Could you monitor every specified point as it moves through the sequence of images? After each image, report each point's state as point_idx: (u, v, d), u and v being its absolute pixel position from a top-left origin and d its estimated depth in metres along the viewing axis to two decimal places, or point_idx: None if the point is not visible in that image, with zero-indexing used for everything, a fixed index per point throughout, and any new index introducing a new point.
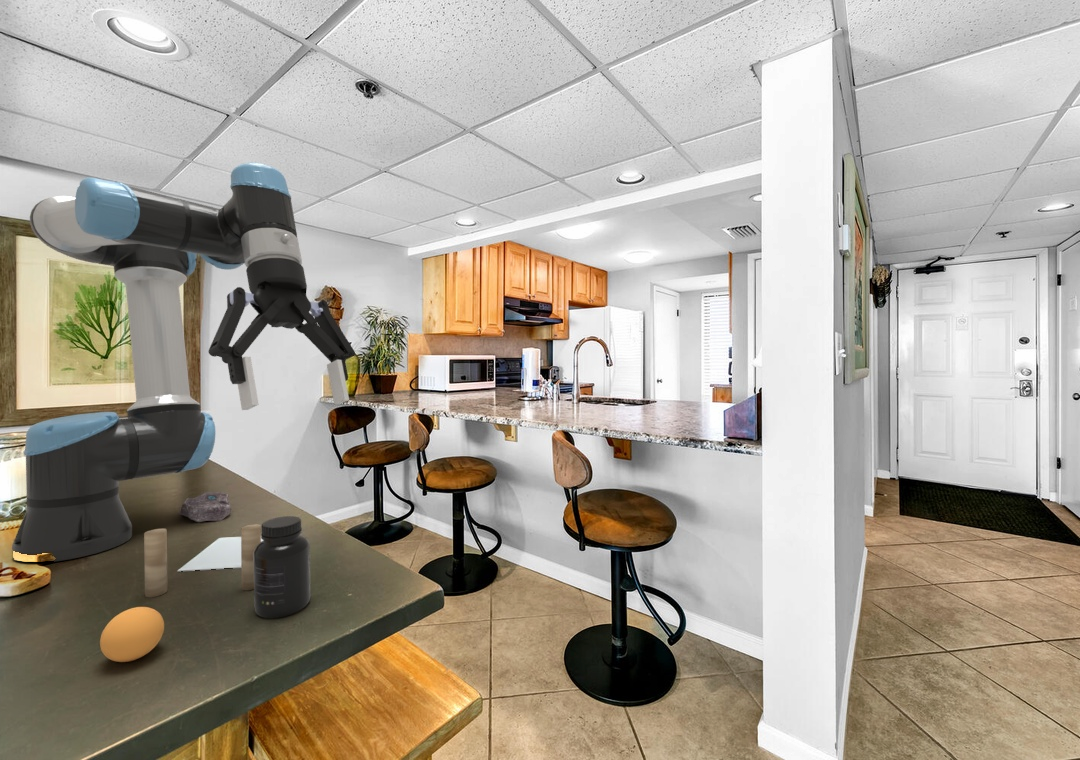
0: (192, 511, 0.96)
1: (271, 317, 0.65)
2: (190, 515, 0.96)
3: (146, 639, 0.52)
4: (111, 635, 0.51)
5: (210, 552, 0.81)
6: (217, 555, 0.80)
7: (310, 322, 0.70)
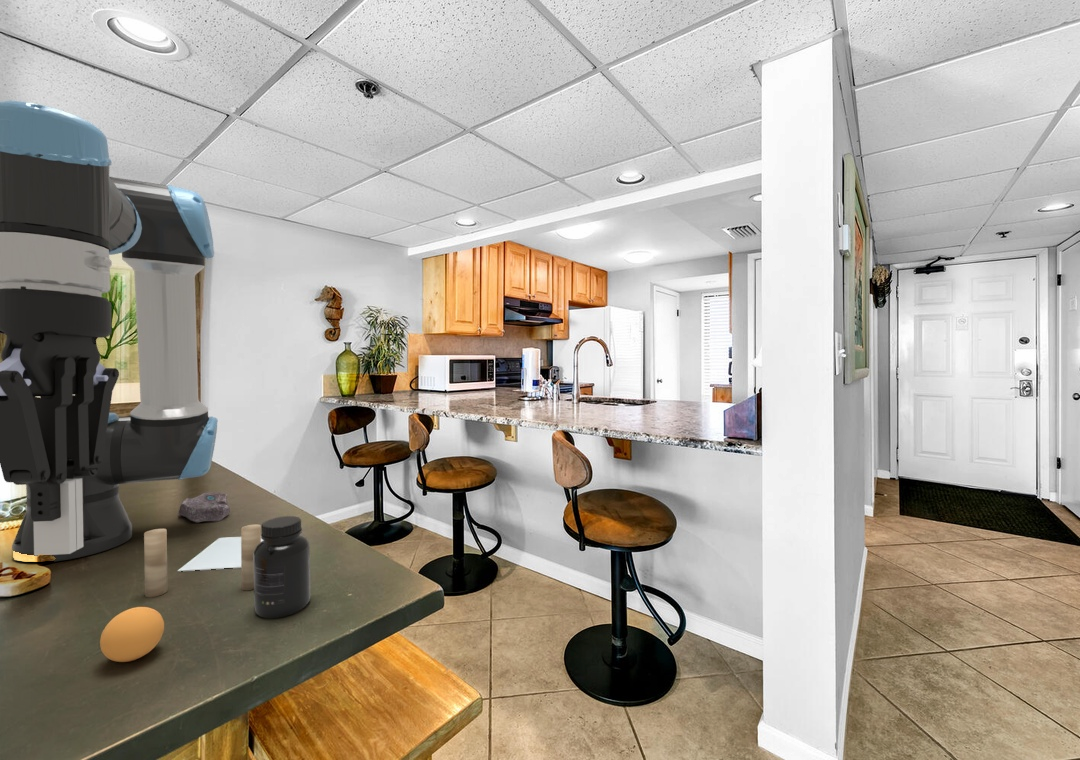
0: (191, 511, 0.96)
1: (70, 397, 0.42)
2: (189, 515, 0.96)
3: (146, 639, 0.52)
4: (111, 635, 0.51)
5: (210, 552, 0.81)
6: (217, 555, 0.80)
7: (85, 396, 0.43)
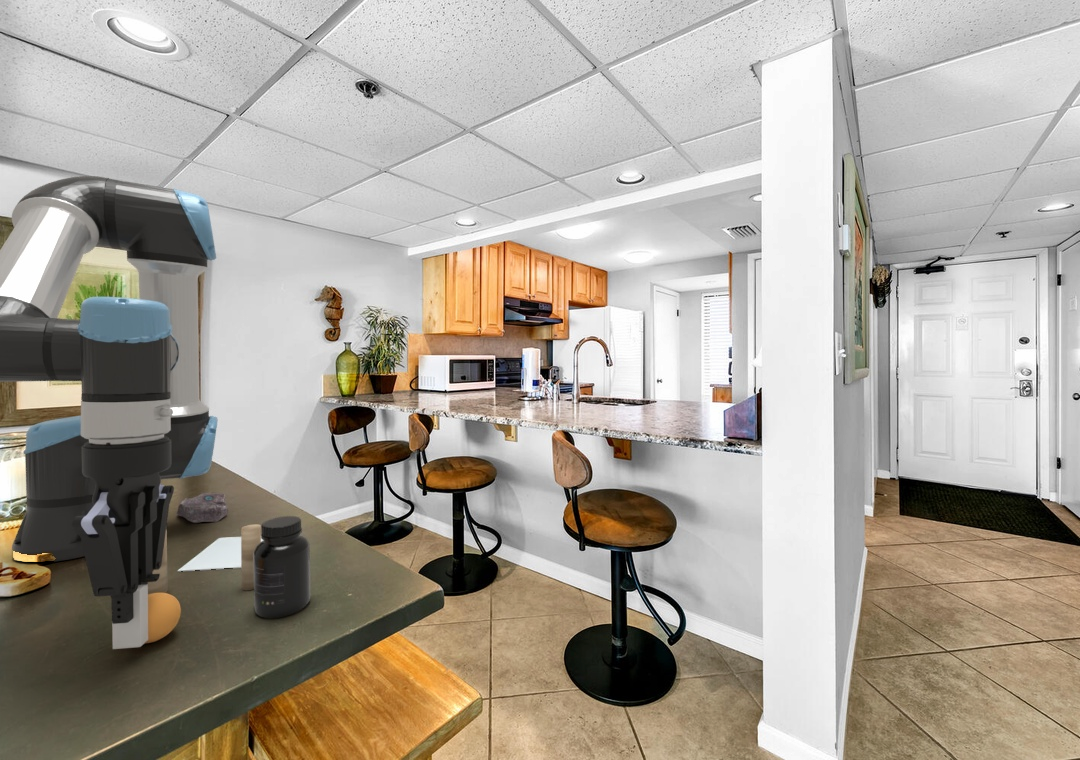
0: (188, 512, 0.96)
1: (141, 523, 0.52)
2: (186, 516, 0.96)
3: (168, 610, 0.56)
4: None
5: (210, 552, 0.81)
6: (217, 555, 0.80)
7: (151, 518, 0.54)
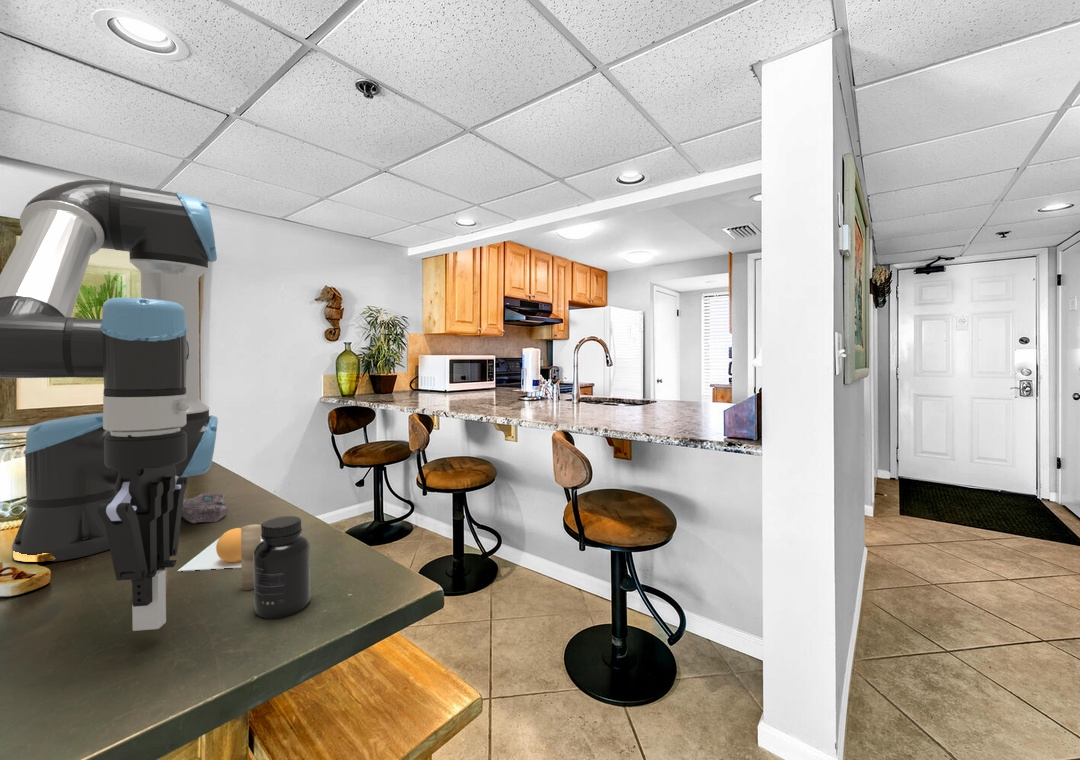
0: (187, 512, 0.96)
1: (160, 511, 0.55)
2: (185, 516, 0.96)
3: None
4: None
5: (210, 552, 0.81)
6: (217, 555, 0.80)
7: (168, 507, 0.57)
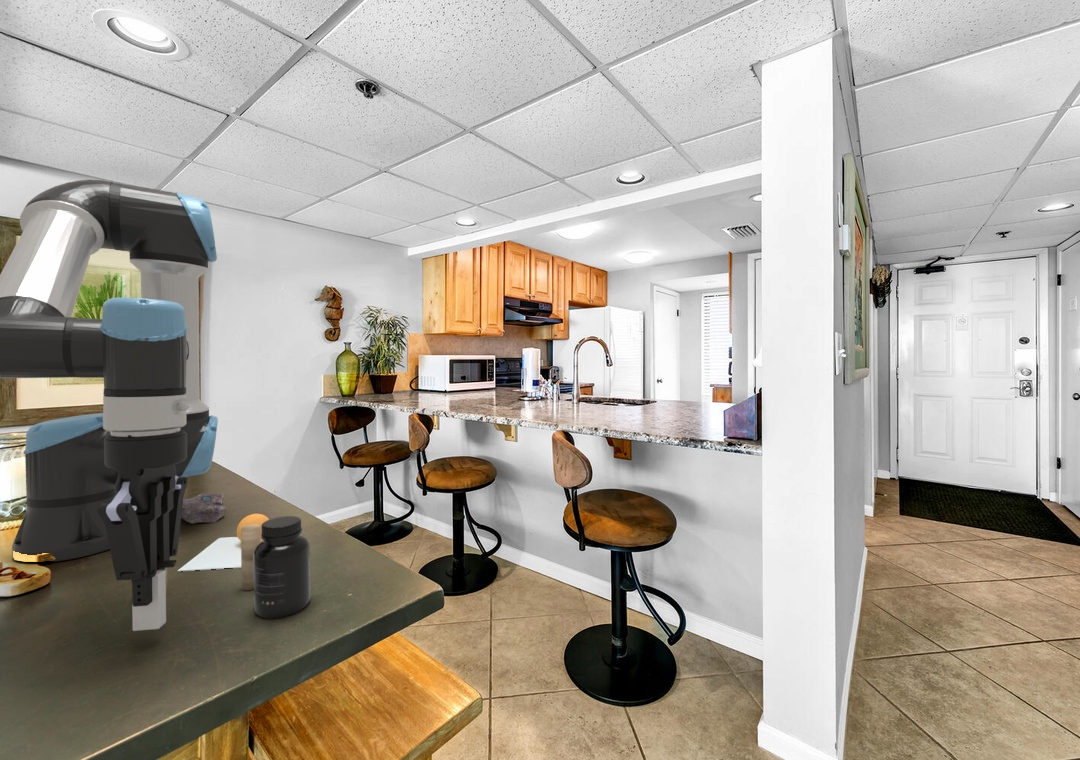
0: (186, 512, 0.95)
1: (160, 511, 0.55)
2: (184, 516, 0.95)
3: None
4: None
5: (210, 552, 0.81)
6: (217, 555, 0.80)
7: (168, 507, 0.57)
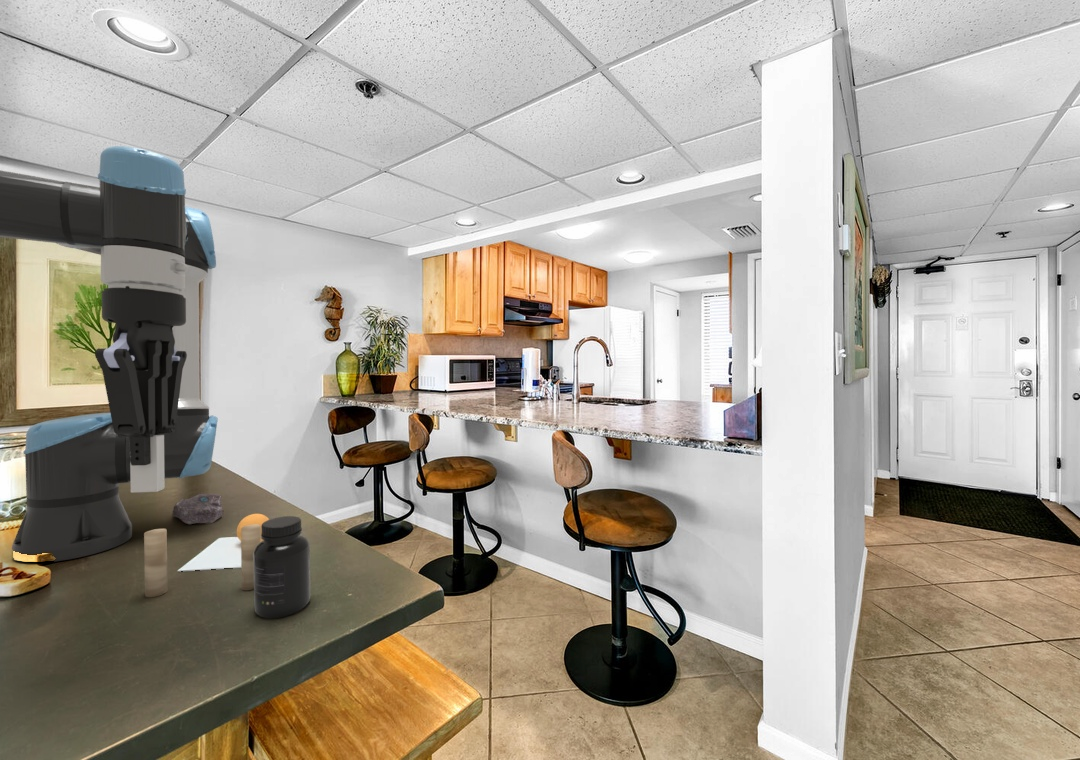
0: (183, 513, 0.95)
1: (158, 371, 0.54)
2: (181, 517, 0.95)
3: None
4: None
5: (210, 552, 0.81)
6: (217, 555, 0.80)
7: (166, 371, 0.56)
